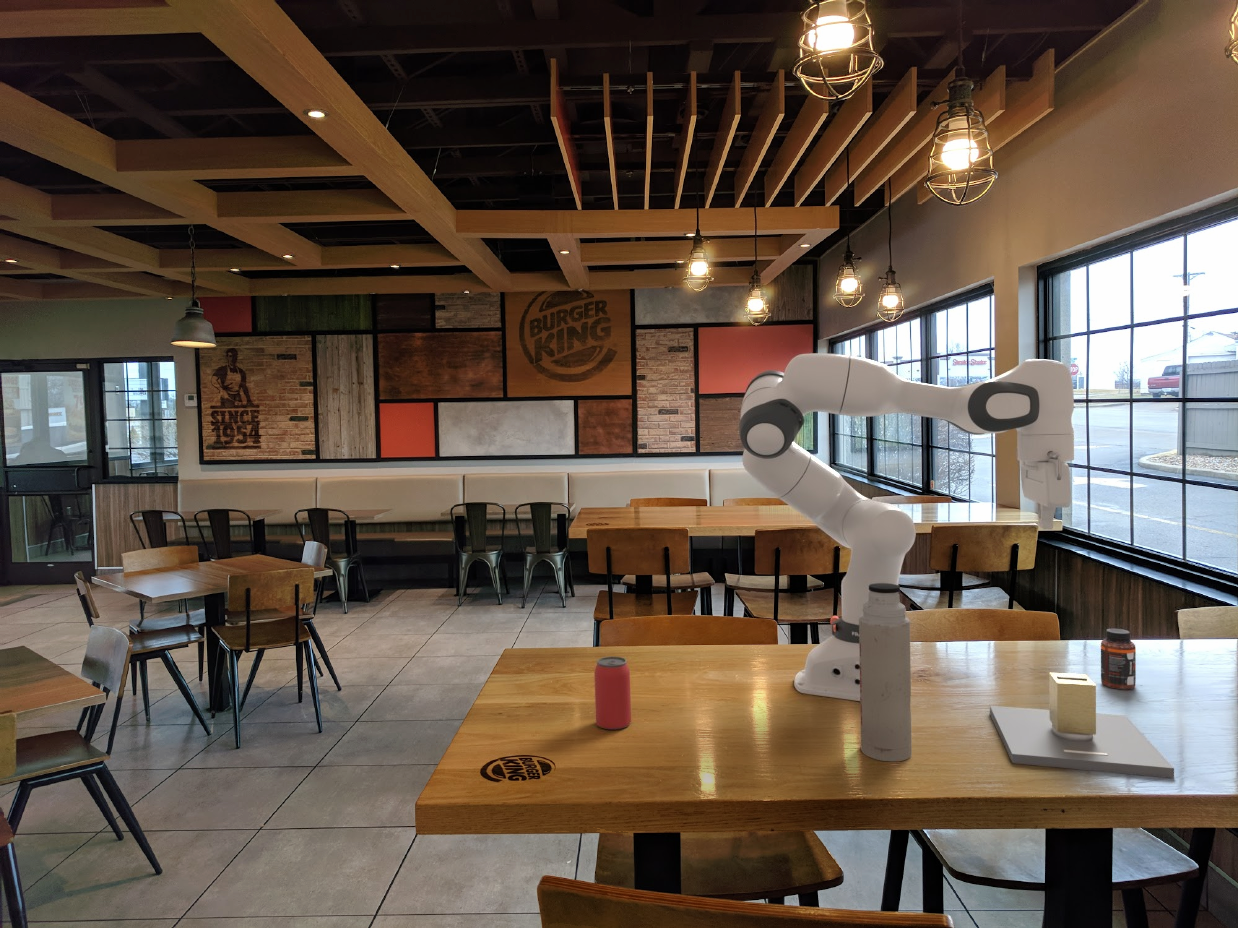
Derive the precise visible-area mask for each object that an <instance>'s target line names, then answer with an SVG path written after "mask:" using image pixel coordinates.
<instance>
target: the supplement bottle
mask: <svg viewBox="0 0 1238 928" xmlns="http://www.w3.org/2000/svg"><path fill="white" fill-rule="evenodd" d="M1105 632H1106V633H1105V636H1106V638H1104V639H1103V640H1101V642H1100V681H1101V683H1102V685H1103V686H1106V687H1108V688H1111V689H1115V690H1132V689H1133V690H1134V688H1135V687H1136V682H1137V681H1136V680H1137V679H1136V675H1137V674H1136V673H1137V672H1136V671H1137V670H1136V667H1137V666H1136V661H1137V660H1136V657H1137V656H1136V655H1137V654H1136V653H1137V652H1136V644H1135V642H1132V641H1131V633H1130V631H1129V630H1126V629H1122V628H1107V629H1106V631H1105Z"/></svg>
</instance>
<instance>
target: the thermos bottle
mask: <svg viewBox="0 0 1238 928" xmlns="http://www.w3.org/2000/svg"><path fill="white" fill-rule="evenodd" d="M900 592H901V587H900V585H899V584H898V585H895V584H889V583H875V584H870V585H869V601H868V602H866V603H864V605H863V609H862V611H863V615H862V616H860V617H859V653H860V701H859V702H860V703H859V706H860V708H859V709H860V713H859V715H860V716H859V717H860V750H861V752H862V753H863V754H864V755H865V756H866V757H869V758H871V759H874V760H877V761H883V762H891V763H892V762H893V763H894V762H901V761H902V762H903V761H906V760H908V759H910V758H911V756H912V748H913V747H912V712H911V711H912V709H911V696H912V688H911V687H912V683H911V682H912V680H911V679H912V678H911V675H912V673H911V671H912V670H911V667H912V666H911V621H910V619H909V618H908V617H906V615H907V609H906V606H905V605H904V604H903V603H901V601H900V600H901V599H900V594H899V593H900Z"/></svg>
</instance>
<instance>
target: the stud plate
mask: <svg viewBox="0 0 1238 928" xmlns="http://www.w3.org/2000/svg"><path fill="white" fill-rule="evenodd" d="M989 714H990V717H991V719H992V721H993V723H994V726H995V728H996V730H997V732H998V734H999V736H1000V739H1001V741H1002V744H1003V743H1004V744H1003V746H1004V747H1005V750H1006V753H1007V754H1008V757H1009V759H1010V761H1011V764H1017V765H1018V764H1019V765H1028V766H1029V765H1031V766H1038V767H1040V766H1041V767H1050V768H1059V769H1060V768H1061V769H1063V768H1064V769H1073V770H1085V771H1095V772H1104V773H1106V772H1107V773H1114V772H1115V773H1116V774H1126V775H1136V776H1137V775H1138V776H1148V777H1160V778H1170V779H1175V768H1174V766H1173V765H1172V764H1171V763H1170V762H1169V761H1168V760H1167V758H1165V756H1164V755H1163V754H1162V753H1161V752H1160V751H1159V750H1158V749H1157V748H1156V747H1155V746H1154V744H1152V743H1151V741H1150V739H1148V738H1147V737H1146V736H1145V735H1144V734H1143V733H1142V731H1140V729H1139V728H1138V727H1137V726H1136V725H1135V724H1134V723H1133V722H1132V721H1131V719H1130V718H1129V717H1128V716H1127V715H1123V714H1111V713H1110V714H1108V713H1098V712H1096V735H1093V734H1081V733H1068V732H1057V730H1056V729H1055V727H1054V725H1053V724H1052V722H1051V721H1050V713H1049V709H1042V708H1030V707H1028V708H1025V707H1014V706H1000V705H989Z"/></svg>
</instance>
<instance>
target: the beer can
mask: <svg viewBox="0 0 1238 928" xmlns="http://www.w3.org/2000/svg"><path fill="white" fill-rule="evenodd" d="M627 663H628V661H627V659H626V658H624V657H621V656H605V657H601V658H599V659H598V660H597V661H596V666H595V669H594V701H595V703H594V704H595V705H594V707H595V723H596V725H597V726H598V727H600V728H602V729H603V730H611V731H615V730H617V731H618V730H620V729H621V730H622V729H625V728H627V727H628V726H629V725H630V724H631V722H632V707H631V706H632V704H631V701H632V699H631V673H630V668H629V665H628V664H627Z"/></svg>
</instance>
